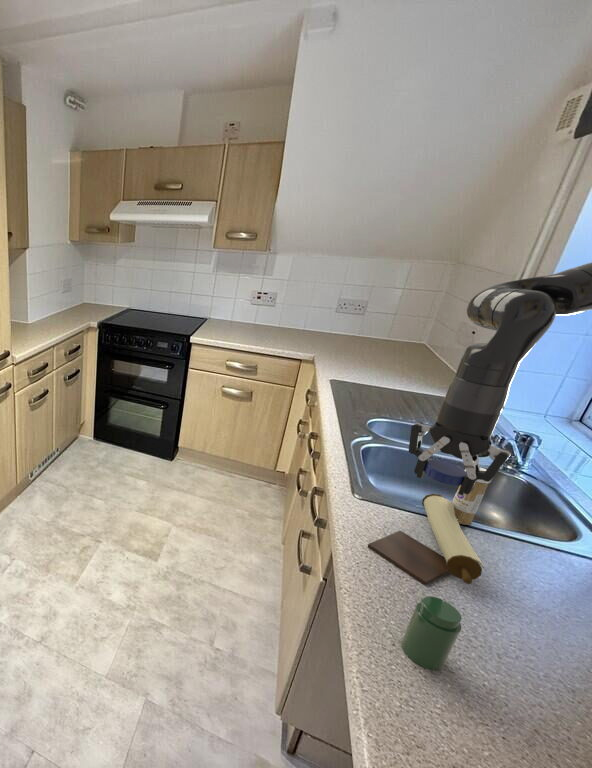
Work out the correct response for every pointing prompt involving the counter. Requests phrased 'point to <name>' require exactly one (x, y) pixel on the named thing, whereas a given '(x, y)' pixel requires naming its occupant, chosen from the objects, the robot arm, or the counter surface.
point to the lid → (445, 472)
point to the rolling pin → (451, 538)
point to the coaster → (411, 556)
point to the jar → (431, 633)
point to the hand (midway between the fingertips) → (440, 484)
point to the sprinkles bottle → (469, 502)
